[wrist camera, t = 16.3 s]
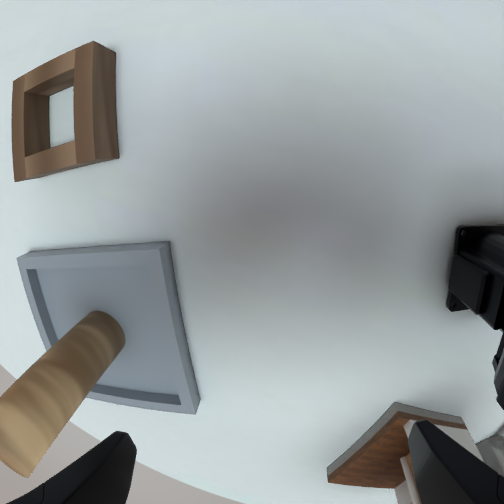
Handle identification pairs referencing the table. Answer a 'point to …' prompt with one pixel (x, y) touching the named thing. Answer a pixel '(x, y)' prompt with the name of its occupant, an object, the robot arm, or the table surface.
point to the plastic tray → (119, 318)
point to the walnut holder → (85, 113)
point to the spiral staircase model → (393, 452)
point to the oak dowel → (55, 390)
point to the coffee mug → (493, 452)
